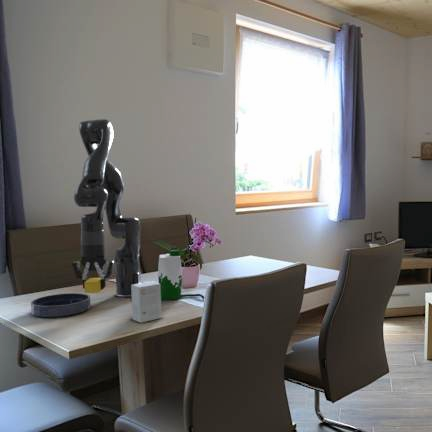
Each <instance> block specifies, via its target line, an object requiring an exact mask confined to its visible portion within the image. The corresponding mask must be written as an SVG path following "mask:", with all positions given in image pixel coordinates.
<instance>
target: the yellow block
mask: <svg viewBox="0 0 432 432" xmlns="http://www.w3.org/2000/svg"><path fill="white" fill-rule="evenodd" d="M100 280H101V278H100V277H89V278H88V280H87V281H85V282H84V283H85V289H84V294H99V293H101V292H102V290H101V281H100Z"/></svg>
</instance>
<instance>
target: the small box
mask: <svg viewBox="0 0 432 432" xmlns="http://www.w3.org/2000/svg"><path fill="white" fill-rule="evenodd" d="M143 282H144V283H139V284H133V285H131V291H132V296H131V312H132V320H133V321H135V322H138V323H141V324H142V323H146V322H149V321H153V320H158V319H162V318H163V317H162V299H161V286H160V283H159V282H157V281H153V280H151V281H143Z"/></svg>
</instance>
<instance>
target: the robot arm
mask: <svg viewBox="0 0 432 432" xmlns="http://www.w3.org/2000/svg"><path fill="white" fill-rule="evenodd" d="M78 132H79V135H80V138H81V141H82V143H83V147H84V148H85V152H86V154H87V156H88V157H87V158H86V160H85V162H84V164H83V169H82V176H81V179H80V181H79V184H78V185H77V187H76V189H75V191H74V194H73V201H74V203H75V205H76V206H78V207H79V208H96V209H95V211H93V212H89V213H84V214H82V215H81V216H80V228H81V229H80V230H81V231H80V254H81V255H80V257H81V258H80V260H78V261H73V262H72V263H71V266H72V268H73V271H74V274H75V277H76V279H79V280H82V288H83V289H84V290H85V283H84V282H85V281H87V280H88V279H89V274H90V273H91V272H92V271H94V272H97V274H98V275H99V278H101V280H100V281H101V291H103V290H104V289H105V288H106V286H107V279H108V278H110V277H111V276H112V273H113V271H114V270H113V269H114V266H115V292H116V293H115V296H116V297H119V298H132V291H131V285H133V284H139V283H144V282H145V281H142V271H141V269H140V249H141V235H142V234H141V232H142V227H141V223H140V220H139V219H138V218H136V217H134V216H133V217H132V216H122V213H121V209H120V203H121V200H122V196H123V194H124V191H125V185H124V182H123V178H122V174H121V171H119V169H118V168H117V167H116V166H115V165H114V164H113V163H112V162H111V161H110V160H108V157H109V154H110V152H111V147H112V144H113V141H114V134H115V133H114V128H113V124H112V123H111V121H110V120H109V119H106V118H100V119H99V118H98V119H90V120H83V121H80V122H79V124H78ZM104 215H106V221H107V227H108V231H109V233H110V235H111V236H112V237H113V238H115V239H118V240H119V239H120V240H124V244H123V245H122V246H118V247H116V248H115V249H114V260H109V259H107V258H106V246H105V245H106V244H105V243H106V241H105V233H104V232H105V231H104ZM105 264H106V266H107V271H106V272H105V269H104V266H105ZM81 265H82V267H83V268H84V270H83V273H82V271H81ZM185 297H201V298H202V299H203V300H204V297H205V296H204V295H203V294H201V293H193V294H192V293H188V294H187V293H186V294H181V296H180V298H185ZM161 300H162V298H161Z"/></svg>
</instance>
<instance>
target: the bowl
mask: <svg viewBox="0 0 432 432" xmlns="http://www.w3.org/2000/svg"><path fill="white" fill-rule="evenodd" d="M89 309H91V296H90V295H89V294H88V293H80V292H79V293H78V292H69V293H66V292H65V293H56V294H49V295H45V296H41V297H37V298H35V299H33V300H31V301H30V312H31V315H32V316H34V317H40V318H64V317H69V316H75V315H78V314H81V313H83V312H86V311H88V310H89Z"/></svg>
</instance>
